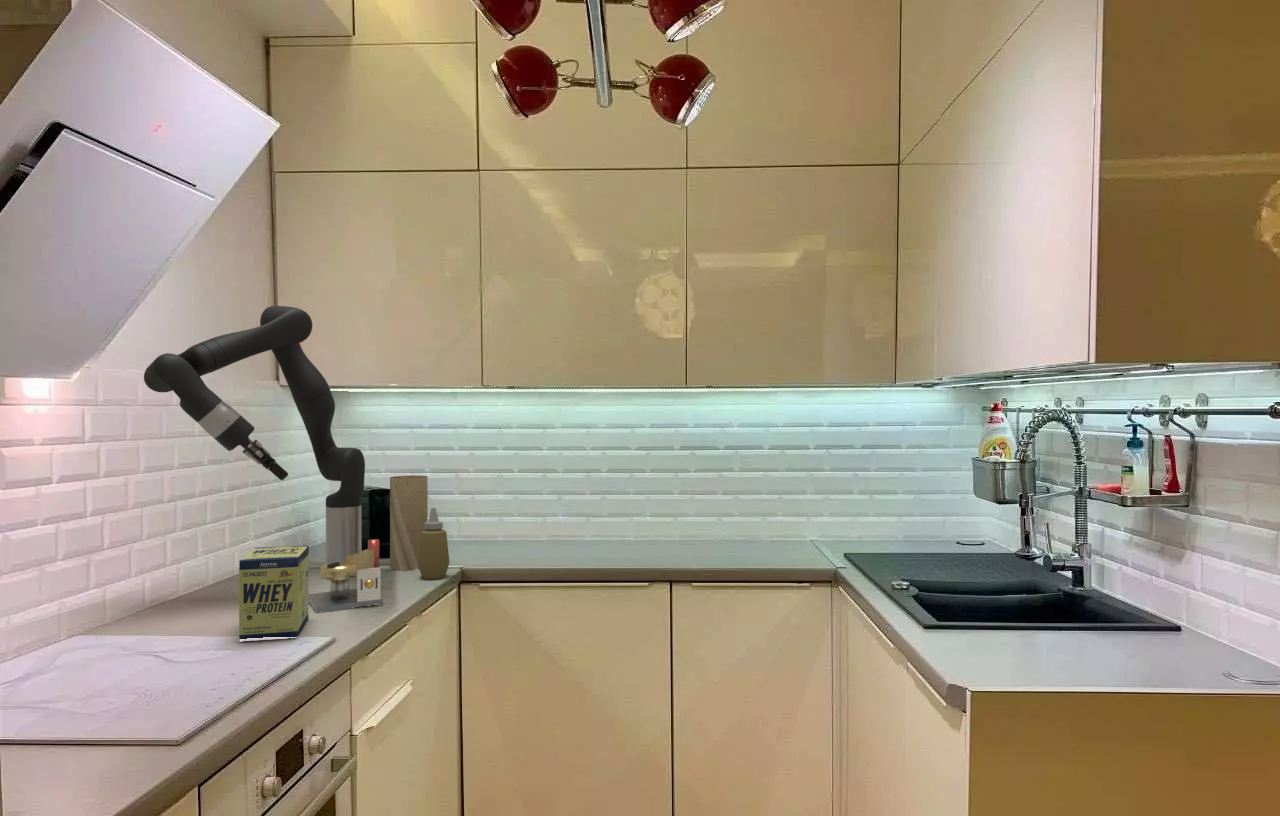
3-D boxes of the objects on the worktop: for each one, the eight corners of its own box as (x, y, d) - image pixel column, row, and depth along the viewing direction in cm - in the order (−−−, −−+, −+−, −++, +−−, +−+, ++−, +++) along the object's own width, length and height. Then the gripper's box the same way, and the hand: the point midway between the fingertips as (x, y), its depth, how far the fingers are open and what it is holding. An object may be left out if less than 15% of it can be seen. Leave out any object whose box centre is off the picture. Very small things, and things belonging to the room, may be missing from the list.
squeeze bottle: (423, 582, 201) (423, 511, 201) (413, 576, 208) (413, 507, 208) (454, 578, 206) (454, 508, 206) (443, 573, 212) (443, 505, 212)
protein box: (238, 643, 149) (238, 560, 149) (254, 622, 164) (254, 546, 164) (298, 639, 151) (298, 557, 151) (309, 618, 166) (309, 544, 166)
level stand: (306, 599, 183) (306, 563, 183) (369, 592, 190) (369, 558, 190) (317, 614, 170) (317, 575, 170) (384, 605, 177) (384, 568, 177)
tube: (408, 572, 214) (408, 479, 214) (382, 568, 219) (382, 477, 219) (435, 565, 222) (435, 476, 222) (409, 562, 227) (409, 475, 227)
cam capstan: (362, 565, 195) (362, 538, 195) (391, 566, 193) (391, 539, 193) (313, 581, 177) (312, 551, 177) (344, 582, 175) (344, 553, 175)
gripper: (241, 414, 175) (301, 467, 182) (237, 413, 187) (293, 464, 193) (214, 438, 173) (276, 491, 179) (211, 436, 184) (269, 486, 190)
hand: (285, 477), depth 186 cm, fingers closed
